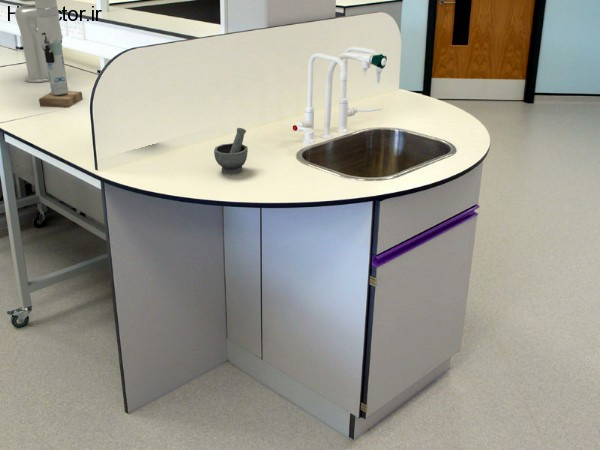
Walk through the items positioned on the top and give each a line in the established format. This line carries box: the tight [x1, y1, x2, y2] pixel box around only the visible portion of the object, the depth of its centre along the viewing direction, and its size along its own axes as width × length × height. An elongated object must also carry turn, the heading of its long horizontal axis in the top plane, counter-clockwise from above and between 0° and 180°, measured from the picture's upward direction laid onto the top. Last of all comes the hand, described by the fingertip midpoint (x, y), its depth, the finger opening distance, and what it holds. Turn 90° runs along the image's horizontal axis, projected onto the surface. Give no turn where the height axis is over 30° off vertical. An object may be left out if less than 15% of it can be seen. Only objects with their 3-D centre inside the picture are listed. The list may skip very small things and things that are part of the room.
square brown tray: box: [38, 90, 84, 108], centre depth 278 cm, size 12×12×3 cm
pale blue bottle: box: [46, 40, 69, 95], centre depth 273 cm, size 6×6×20 cm
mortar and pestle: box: [213, 127, 249, 176], centre depth 207 cm, size 11×9×12 cm
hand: (54, 60), depth 272 cm, fingers closed on pale blue bottle, 6 cm apart
